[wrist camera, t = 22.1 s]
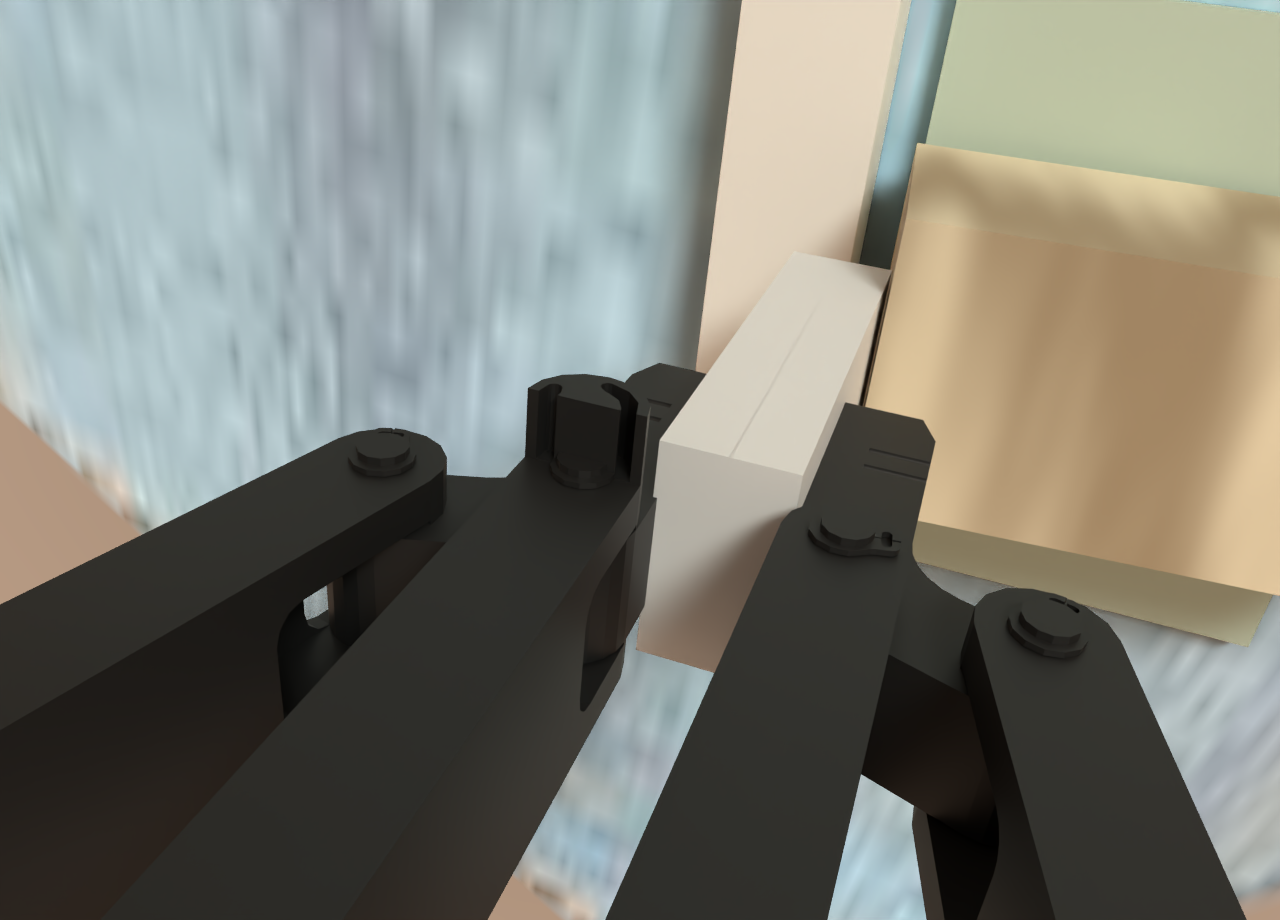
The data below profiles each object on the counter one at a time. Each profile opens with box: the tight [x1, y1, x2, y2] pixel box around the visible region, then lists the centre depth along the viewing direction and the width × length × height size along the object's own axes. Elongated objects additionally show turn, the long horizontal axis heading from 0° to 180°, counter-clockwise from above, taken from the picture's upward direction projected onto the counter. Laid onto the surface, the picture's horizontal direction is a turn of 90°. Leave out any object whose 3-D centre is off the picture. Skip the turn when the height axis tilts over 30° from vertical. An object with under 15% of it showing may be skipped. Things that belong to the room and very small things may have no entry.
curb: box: [695, 0, 911, 374], centre depth 20 cm, size 2×14×2 cm, turn 175°
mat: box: [913, 0, 1280, 647], centre depth 19 cm, size 8×11×1 cm
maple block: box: [863, 143, 1280, 596], centre depth 17 cm, size 4×4×10 cm
